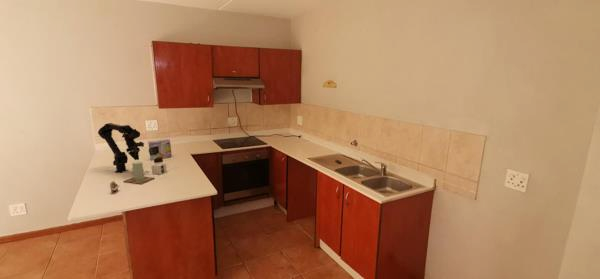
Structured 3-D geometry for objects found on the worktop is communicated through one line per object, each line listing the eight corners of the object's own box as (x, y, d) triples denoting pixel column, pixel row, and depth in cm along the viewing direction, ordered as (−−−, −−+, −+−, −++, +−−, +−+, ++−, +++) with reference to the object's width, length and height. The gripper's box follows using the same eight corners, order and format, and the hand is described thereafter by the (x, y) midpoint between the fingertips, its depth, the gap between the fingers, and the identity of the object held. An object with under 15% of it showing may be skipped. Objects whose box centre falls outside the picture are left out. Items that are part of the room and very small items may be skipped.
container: (167, 171, 238) (165, 156, 236) (160, 174, 231) (158, 158, 228) (159, 171, 240) (157, 155, 238) (152, 173, 233) (150, 158, 230)
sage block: (134, 179, 218) (132, 162, 215) (141, 177, 221) (139, 161, 219) (137, 181, 215) (135, 164, 212) (144, 179, 218) (142, 162, 216)
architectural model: (120, 190, 200) (119, 180, 199) (116, 194, 194) (114, 183, 192) (115, 190, 200) (113, 180, 198) (110, 194, 193) (108, 184, 192)
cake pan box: (150, 160, 268) (148, 142, 265) (148, 159, 272) (146, 141, 269) (172, 157, 280) (170, 139, 277) (170, 156, 284) (169, 138, 280)
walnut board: (123, 182, 214) (123, 181, 214) (137, 176, 226) (137, 175, 226) (141, 184, 210) (141, 183, 210) (154, 178, 222) (154, 177, 222)
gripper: (138, 136, 221) (146, 156, 222) (143, 138, 239) (149, 156, 240) (122, 141, 218) (130, 161, 219) (128, 142, 235) (135, 161, 236)
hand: (137, 159), depth 228 cm, fingers open, 9 cm apart
